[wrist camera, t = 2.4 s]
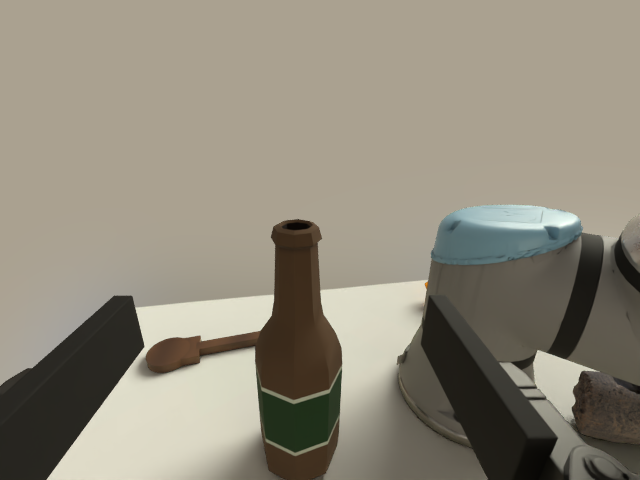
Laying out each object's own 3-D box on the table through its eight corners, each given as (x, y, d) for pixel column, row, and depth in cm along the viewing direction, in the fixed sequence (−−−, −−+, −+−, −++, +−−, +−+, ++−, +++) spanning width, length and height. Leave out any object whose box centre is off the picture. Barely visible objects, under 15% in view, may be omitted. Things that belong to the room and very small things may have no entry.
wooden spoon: (289, 324, 49) (289, 317, 49) (296, 347, 44) (296, 340, 44) (152, 347, 44) (150, 341, 43) (143, 377, 39) (141, 370, 38)
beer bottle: (337, 413, 34) (346, 210, 26) (339, 490, 27) (353, 246, 18) (269, 410, 35) (255, 209, 26) (253, 487, 27) (226, 243, 19)
